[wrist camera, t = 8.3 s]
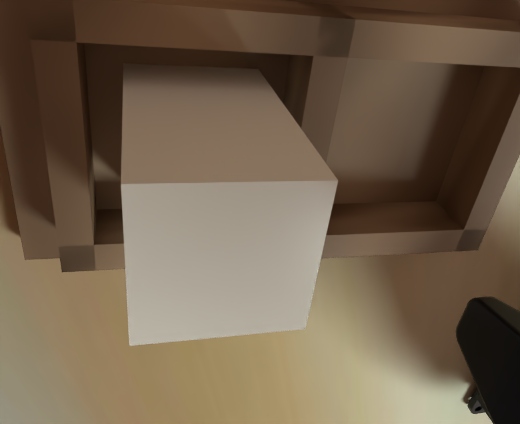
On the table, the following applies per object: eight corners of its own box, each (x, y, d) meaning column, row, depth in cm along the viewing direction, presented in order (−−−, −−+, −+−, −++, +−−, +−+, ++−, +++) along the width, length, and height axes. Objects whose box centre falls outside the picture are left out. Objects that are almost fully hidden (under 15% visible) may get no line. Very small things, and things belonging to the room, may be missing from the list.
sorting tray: (613, -158, 15) (711, -166, 12) (459, 226, 22) (500, 268, 20) (-64, -296, 10) (-124, -353, 8) (29, 242, 18) (13, 299, 15)
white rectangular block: (258, 69, 15) (337, 180, 9) (246, 182, 17) (305, 329, 11) (123, 63, 14) (120, 183, 8) (128, 183, 16) (129, 345, 10)
